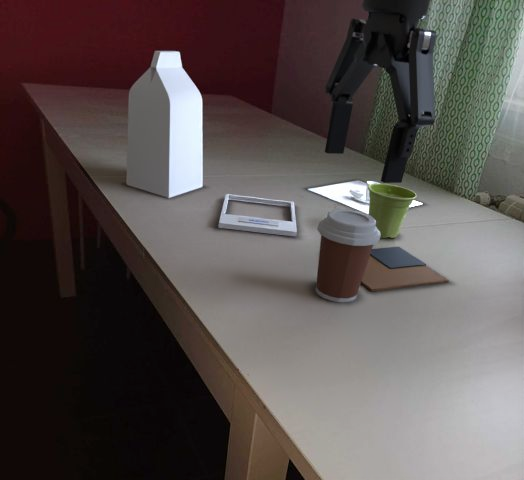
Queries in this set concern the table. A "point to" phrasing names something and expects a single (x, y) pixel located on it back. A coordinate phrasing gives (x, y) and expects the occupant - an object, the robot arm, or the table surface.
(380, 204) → the plant pot
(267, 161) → the table surface
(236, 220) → the photo frame
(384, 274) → the placemat
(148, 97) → the milk
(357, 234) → the coffee cup
